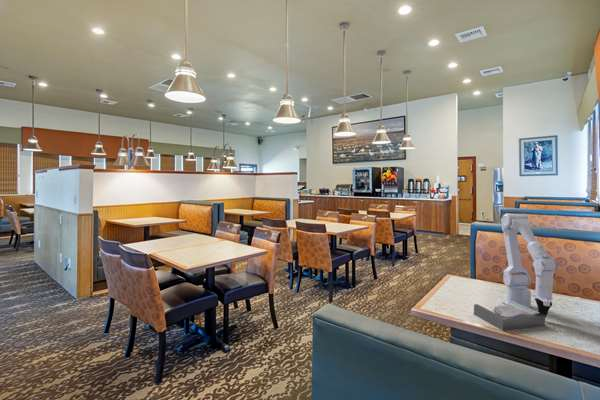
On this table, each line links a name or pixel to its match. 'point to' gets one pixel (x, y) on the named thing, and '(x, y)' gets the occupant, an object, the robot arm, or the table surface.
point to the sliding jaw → (522, 308)
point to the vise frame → (509, 319)
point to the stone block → (508, 311)
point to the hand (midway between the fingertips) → (542, 316)
